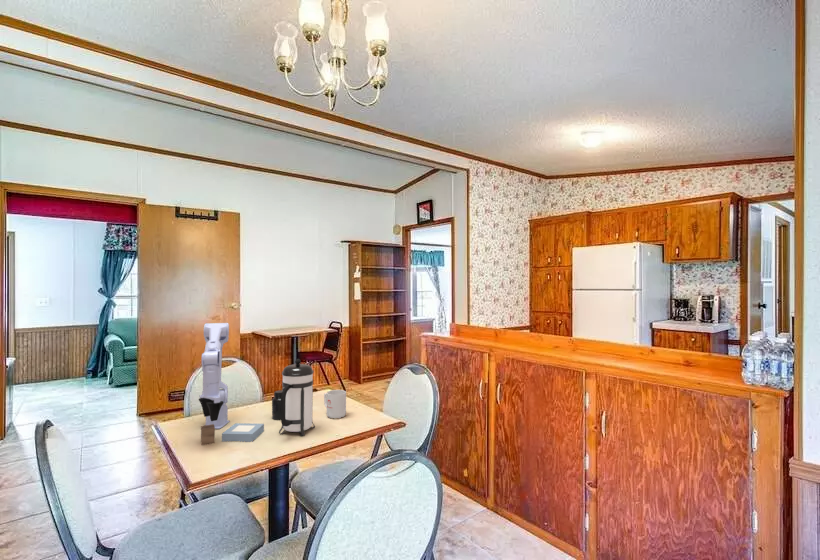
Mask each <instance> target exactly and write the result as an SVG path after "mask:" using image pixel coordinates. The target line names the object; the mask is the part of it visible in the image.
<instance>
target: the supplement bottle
mask: <svg viewBox="0 0 820 560" xmlns="http://www.w3.org/2000/svg"><path fill="white" fill-rule="evenodd" d="M273 394H274V395H273V396H274V397H273V398H272V400H271V417H272V419H273V420H275V421H281V395H282V389H281V390H275V391H274V392H273Z"/></svg>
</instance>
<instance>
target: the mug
mask: <svg viewBox="0 0 820 560" xmlns="http://www.w3.org/2000/svg"><path fill="white" fill-rule="evenodd" d="M323 403H324V404H323V405H324V407H325V408H326V416H327V417H328V418H329V419H331V418H339V419H342V418H341V417H343V418H344V417H345V416H346V414H347V391H346V390H343V389H332V390H328V391H327V392H326V393H323Z"/></svg>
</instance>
